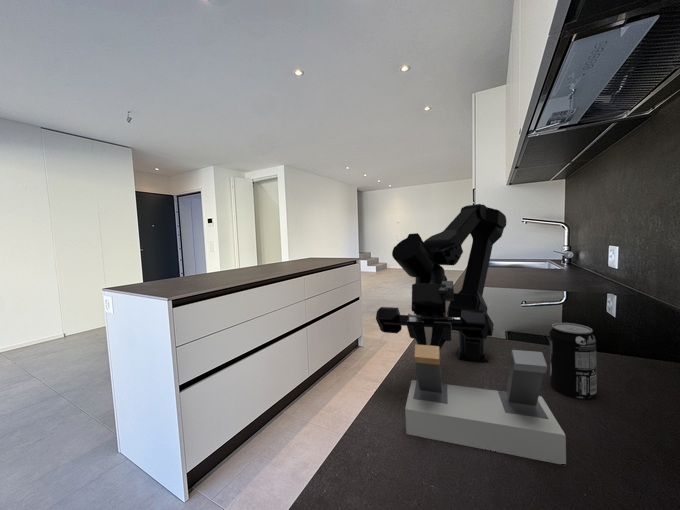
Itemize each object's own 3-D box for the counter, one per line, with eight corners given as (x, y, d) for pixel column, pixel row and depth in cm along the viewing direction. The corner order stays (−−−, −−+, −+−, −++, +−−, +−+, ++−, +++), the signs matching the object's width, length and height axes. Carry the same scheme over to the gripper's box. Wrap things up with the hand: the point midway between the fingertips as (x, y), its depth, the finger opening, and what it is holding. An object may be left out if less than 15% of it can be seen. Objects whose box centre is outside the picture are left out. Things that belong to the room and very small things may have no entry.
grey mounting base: (412, 401, 50) (411, 379, 50) (542, 421, 43) (541, 396, 43) (406, 434, 42) (405, 408, 42) (566, 465, 35) (565, 434, 34)
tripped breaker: (420, 379, 47) (415, 344, 42) (441, 382, 46) (439, 346, 41) (419, 391, 46) (414, 356, 40) (441, 394, 44) (439, 359, 39)
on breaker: (506, 390, 43) (511, 349, 38) (532, 393, 41) (542, 352, 36) (509, 404, 41) (515, 363, 36) (536, 407, 40) (547, 366, 35)
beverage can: (551, 378, 55) (549, 320, 55) (595, 387, 51) (594, 325, 51) (549, 392, 50) (548, 329, 50) (598, 404, 46) (597, 335, 46)
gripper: (375, 265, 52) (362, 344, 42) (485, 263, 45) (499, 356, 35) (386, 297, 60) (376, 369, 50) (481, 299, 53) (491, 383, 43)
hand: (428, 369), depth 44 cm, fingers closed, pressing on tripped breaker
